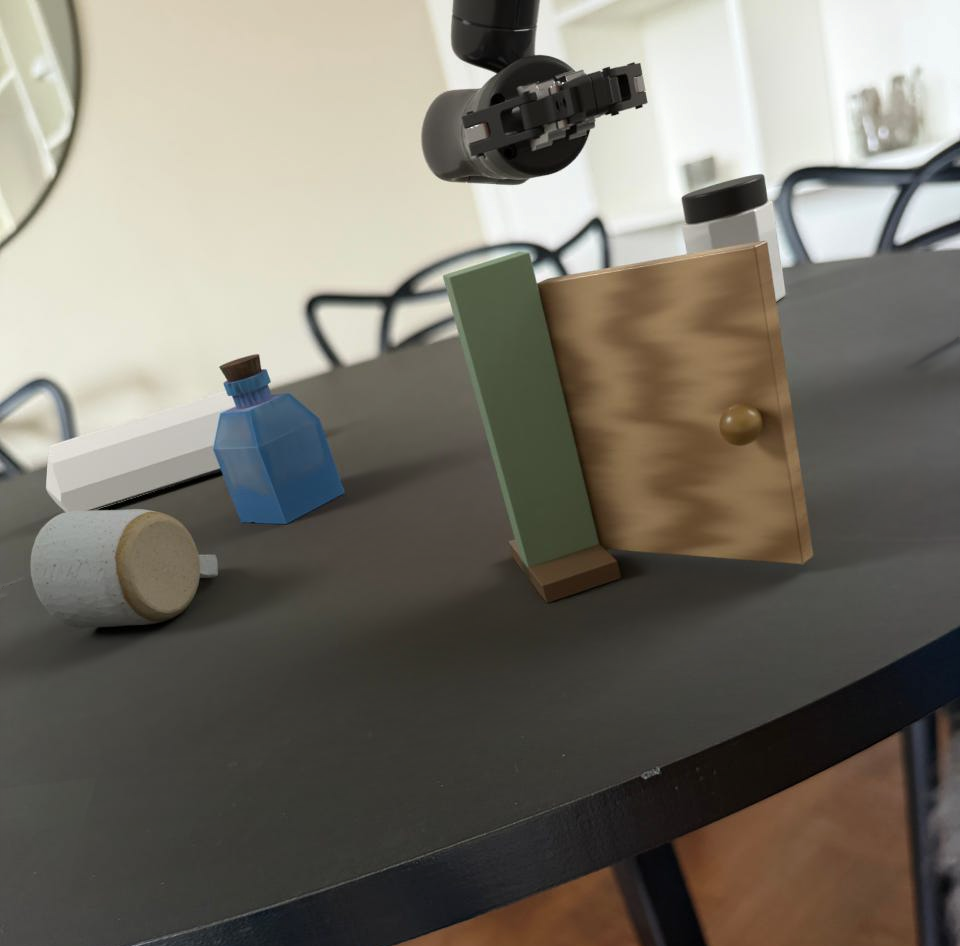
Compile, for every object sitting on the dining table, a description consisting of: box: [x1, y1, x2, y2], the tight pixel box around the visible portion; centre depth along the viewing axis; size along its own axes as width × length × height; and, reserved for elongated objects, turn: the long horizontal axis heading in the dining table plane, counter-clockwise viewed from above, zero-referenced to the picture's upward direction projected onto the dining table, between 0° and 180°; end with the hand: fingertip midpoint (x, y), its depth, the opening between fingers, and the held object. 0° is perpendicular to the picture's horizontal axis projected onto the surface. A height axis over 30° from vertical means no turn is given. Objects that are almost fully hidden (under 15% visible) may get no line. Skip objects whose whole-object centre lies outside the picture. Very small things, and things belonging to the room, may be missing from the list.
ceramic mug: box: [29, 508, 219, 629], centre depth 67 cm, size 11×8×8 cm
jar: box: [681, 173, 786, 303], centre depth 104 cm, size 9×8×12 cm
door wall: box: [442, 251, 622, 604], centre depth 52 cm, size 4×8×16 cm, turn 12°
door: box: [537, 241, 814, 565], centre depth 47 cm, size 12×3×14 cm, turn 46°
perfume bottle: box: [213, 353, 346, 525], centre depth 80 cm, size 6×6×12 cm
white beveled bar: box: [45, 390, 236, 513], centre depth 103 cm, size 7×7×24 cm
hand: (594, 93), depth 59 cm, fingers closed
